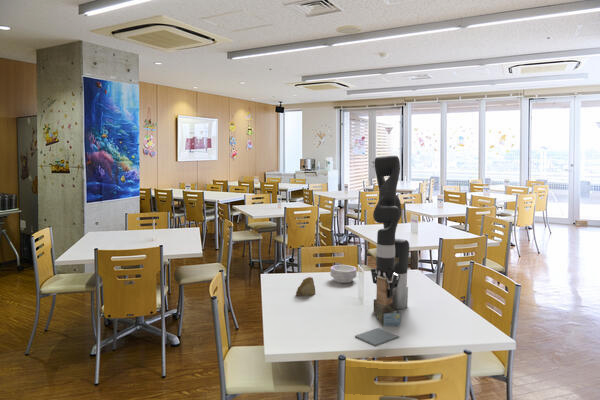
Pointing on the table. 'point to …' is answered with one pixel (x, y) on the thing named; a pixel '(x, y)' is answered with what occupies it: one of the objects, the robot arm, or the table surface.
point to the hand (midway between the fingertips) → (384, 295)
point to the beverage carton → (387, 314)
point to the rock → (306, 287)
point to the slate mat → (376, 336)
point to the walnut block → (382, 291)
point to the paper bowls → (343, 273)
